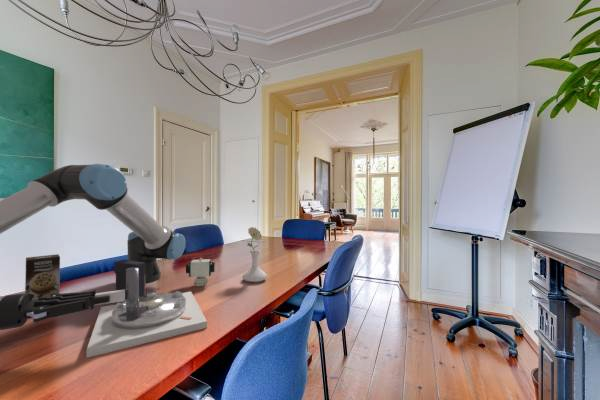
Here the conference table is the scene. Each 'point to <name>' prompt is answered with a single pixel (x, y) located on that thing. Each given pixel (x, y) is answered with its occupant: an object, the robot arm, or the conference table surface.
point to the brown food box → (42, 276)
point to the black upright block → (121, 275)
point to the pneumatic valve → (200, 270)
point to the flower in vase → (254, 260)
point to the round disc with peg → (146, 305)
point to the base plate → (142, 329)
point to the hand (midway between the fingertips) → (124, 295)
